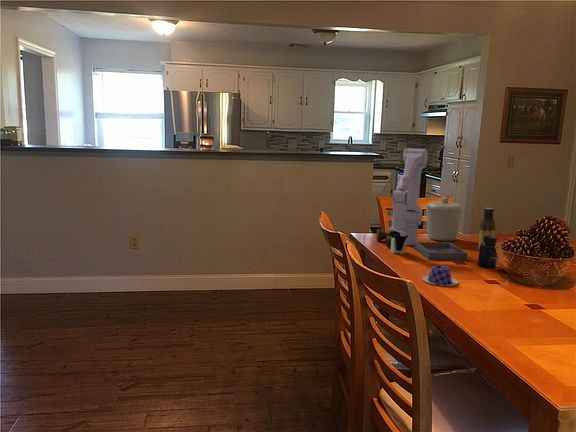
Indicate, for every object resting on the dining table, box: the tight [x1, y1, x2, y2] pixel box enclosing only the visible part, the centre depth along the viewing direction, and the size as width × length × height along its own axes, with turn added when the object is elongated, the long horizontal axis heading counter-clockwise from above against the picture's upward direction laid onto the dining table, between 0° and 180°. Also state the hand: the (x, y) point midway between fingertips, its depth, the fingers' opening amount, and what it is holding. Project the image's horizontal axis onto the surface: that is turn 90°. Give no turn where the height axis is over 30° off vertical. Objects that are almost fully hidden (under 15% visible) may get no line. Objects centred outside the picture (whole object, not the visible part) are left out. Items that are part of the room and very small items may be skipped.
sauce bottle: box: [477, 207, 496, 249], centre depth 198 cm, size 6×6×20 cm
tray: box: [414, 241, 468, 261], centre depth 195 cm, size 18×16×3 cm
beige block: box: [390, 237, 405, 255], centre depth 196 cm, size 4×4×6 cm
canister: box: [424, 196, 465, 242], centre depth 222 cm, size 18×18×21 cm
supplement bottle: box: [477, 236, 499, 270], centre depth 177 cm, size 7×7×12 cm
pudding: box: [421, 265, 459, 287], centre depth 158 cm, size 12×12×5 cm
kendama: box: [375, 228, 391, 249], centre depth 212 cm, size 6×10×20 cm
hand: (397, 249), depth 196 cm, fingers closed on beige block, 4 cm apart
